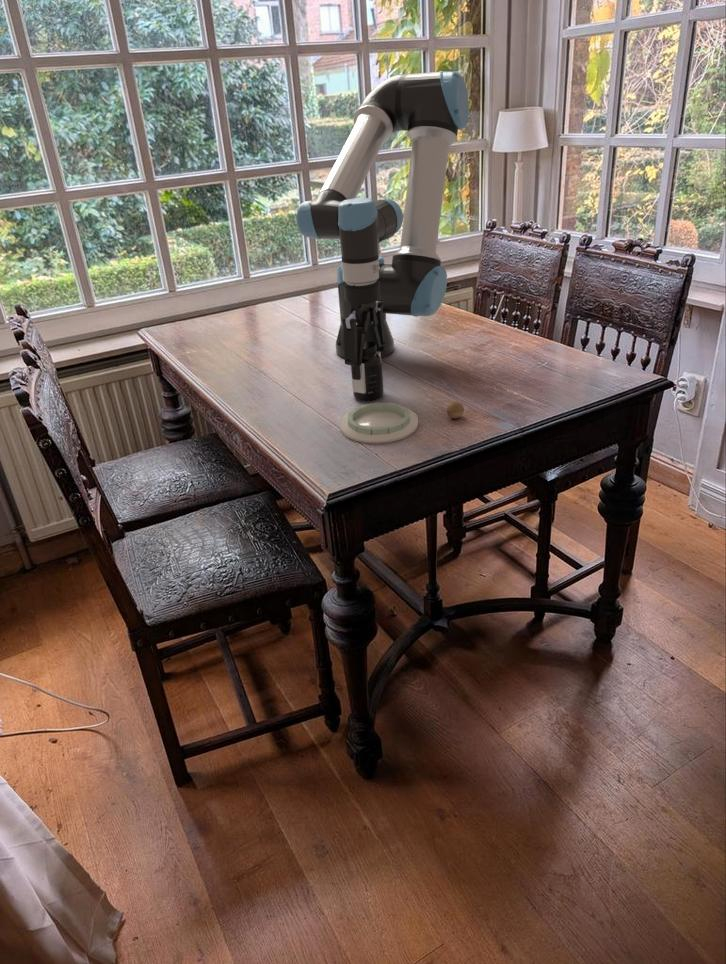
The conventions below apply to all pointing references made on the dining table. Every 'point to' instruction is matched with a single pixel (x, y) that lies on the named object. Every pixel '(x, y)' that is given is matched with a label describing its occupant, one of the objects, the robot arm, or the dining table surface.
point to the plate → (378, 423)
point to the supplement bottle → (371, 374)
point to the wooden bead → (455, 410)
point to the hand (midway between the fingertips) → (367, 385)
